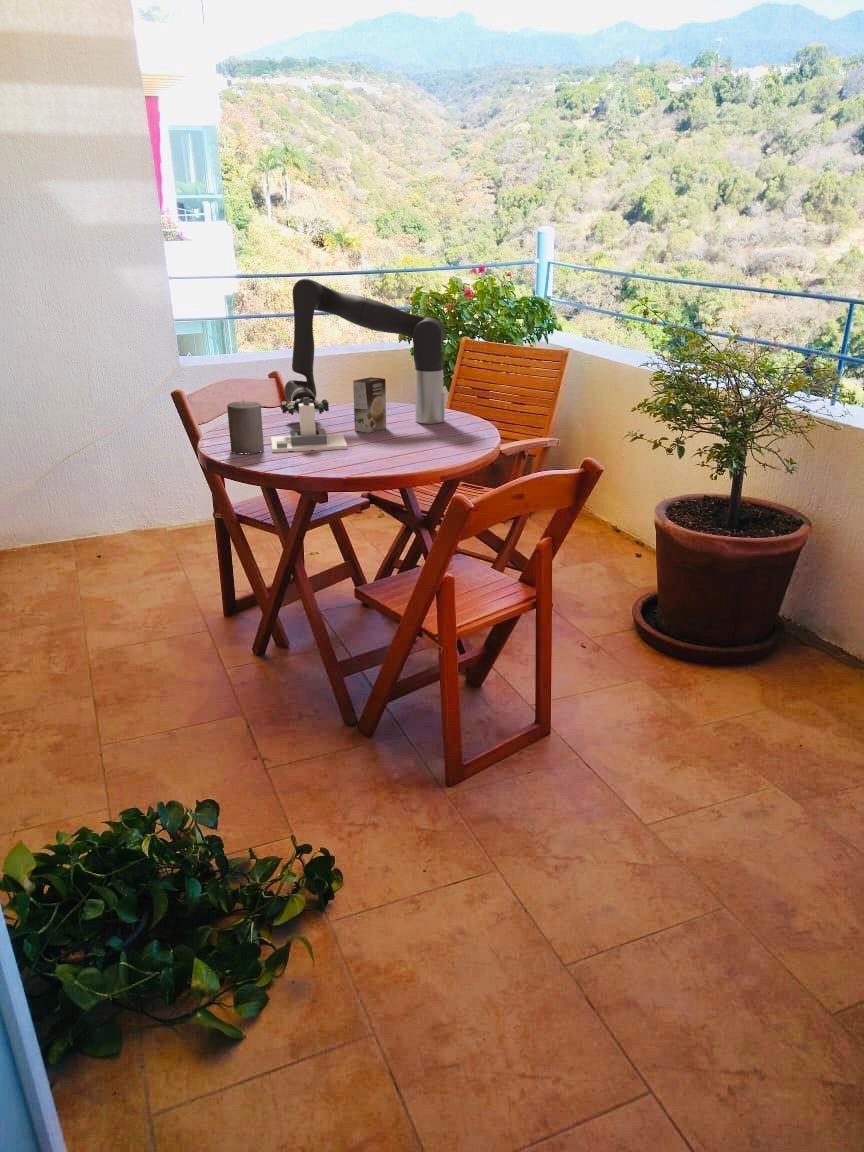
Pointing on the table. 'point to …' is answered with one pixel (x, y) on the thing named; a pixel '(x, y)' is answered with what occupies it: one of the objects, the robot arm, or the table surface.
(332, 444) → the socket dock
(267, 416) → the table surface
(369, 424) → the coffee box
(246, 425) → the pillar candle
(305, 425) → the plug
